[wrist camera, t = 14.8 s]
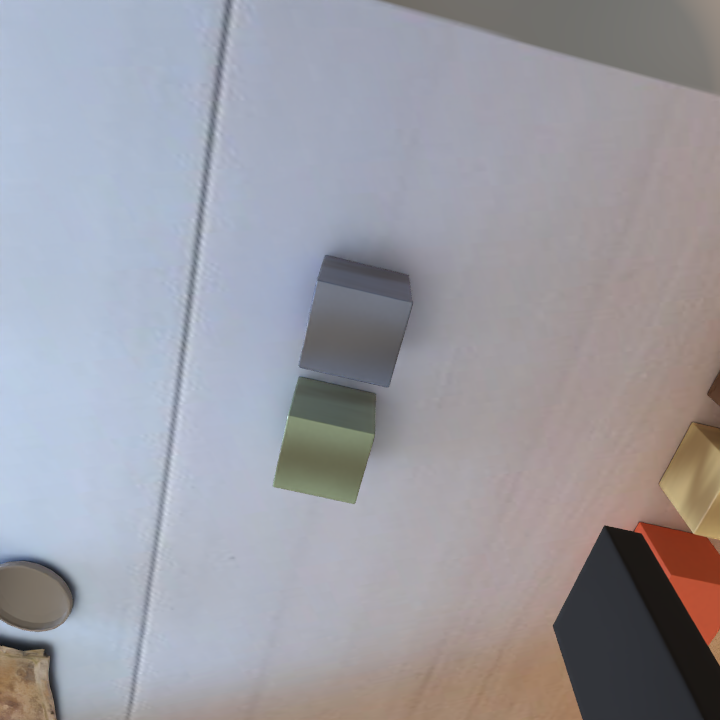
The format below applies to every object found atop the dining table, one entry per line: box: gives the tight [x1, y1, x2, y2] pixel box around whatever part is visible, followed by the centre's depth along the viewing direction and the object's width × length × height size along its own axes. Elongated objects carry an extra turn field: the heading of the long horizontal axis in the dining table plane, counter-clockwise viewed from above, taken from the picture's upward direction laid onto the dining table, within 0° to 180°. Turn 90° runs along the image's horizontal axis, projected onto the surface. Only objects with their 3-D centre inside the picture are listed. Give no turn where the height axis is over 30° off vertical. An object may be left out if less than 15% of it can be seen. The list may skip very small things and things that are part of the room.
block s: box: [634, 522, 720, 645], centre depth 41 cm, size 5×5×5 cm
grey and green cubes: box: [273, 255, 413, 504], centre depth 35 cm, size 13×5×5 cm, turn 167°
